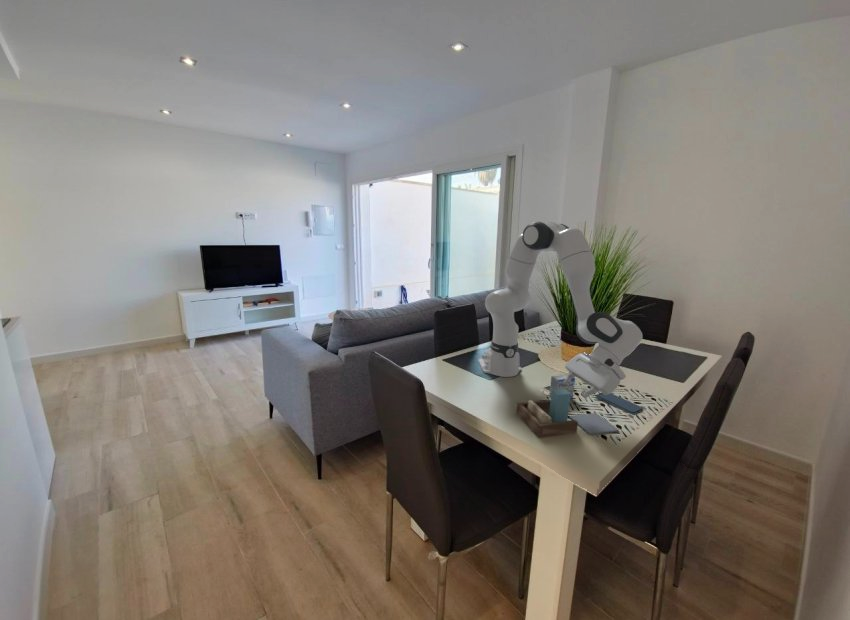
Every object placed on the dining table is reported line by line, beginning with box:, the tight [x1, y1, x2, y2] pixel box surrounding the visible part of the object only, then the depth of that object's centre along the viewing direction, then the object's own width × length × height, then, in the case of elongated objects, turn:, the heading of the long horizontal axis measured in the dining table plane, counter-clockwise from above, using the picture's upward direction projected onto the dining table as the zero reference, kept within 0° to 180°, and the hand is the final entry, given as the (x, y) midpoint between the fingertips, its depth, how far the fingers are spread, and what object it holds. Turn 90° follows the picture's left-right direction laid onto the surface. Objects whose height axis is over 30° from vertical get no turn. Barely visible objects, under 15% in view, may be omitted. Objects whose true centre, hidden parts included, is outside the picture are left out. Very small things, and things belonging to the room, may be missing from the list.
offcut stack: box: [527, 399, 552, 424], centre depth 118 cm, size 9×4×6 cm, turn 13°
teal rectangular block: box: [548, 389, 571, 423], centre depth 119 cm, size 4×5×11 cm
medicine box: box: [549, 374, 576, 399], centre depth 137 cm, size 8×4×9 cm, turn 106°
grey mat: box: [568, 412, 620, 436], centre depth 119 cm, size 11×11×1 cm
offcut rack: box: [515, 399, 579, 438], centre depth 119 cm, size 15×14×4 cm
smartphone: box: [595, 392, 644, 415], centre depth 134 cm, size 8×2×15 cm
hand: (574, 389), depth 119 cm, fingers open, 8 cm apart
